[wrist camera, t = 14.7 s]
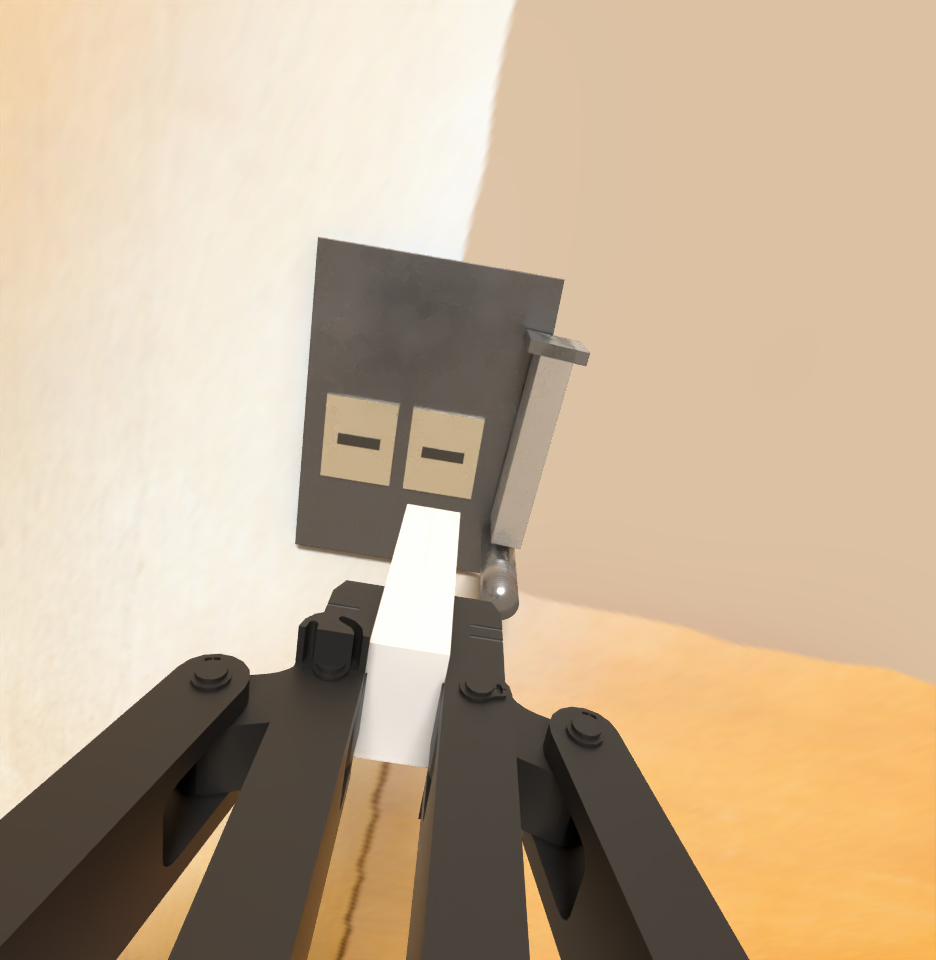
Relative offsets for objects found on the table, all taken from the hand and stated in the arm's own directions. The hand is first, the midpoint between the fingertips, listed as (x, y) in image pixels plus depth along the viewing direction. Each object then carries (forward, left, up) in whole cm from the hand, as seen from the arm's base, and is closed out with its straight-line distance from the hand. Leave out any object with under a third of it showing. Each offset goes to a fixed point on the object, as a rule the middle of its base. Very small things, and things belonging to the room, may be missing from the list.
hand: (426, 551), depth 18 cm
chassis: (-2, -4, -28) cm, 29 cm away
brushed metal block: (+5, -3, -27) cm, 27 cm away
